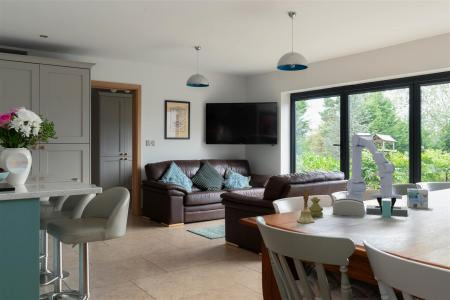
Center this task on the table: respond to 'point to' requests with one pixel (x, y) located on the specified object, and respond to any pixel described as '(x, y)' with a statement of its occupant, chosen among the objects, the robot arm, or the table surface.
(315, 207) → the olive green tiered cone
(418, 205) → the light bulb box
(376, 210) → the bore plate
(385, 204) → the square peg
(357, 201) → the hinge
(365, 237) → the table surface
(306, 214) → the hand bell
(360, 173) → the robot arm
